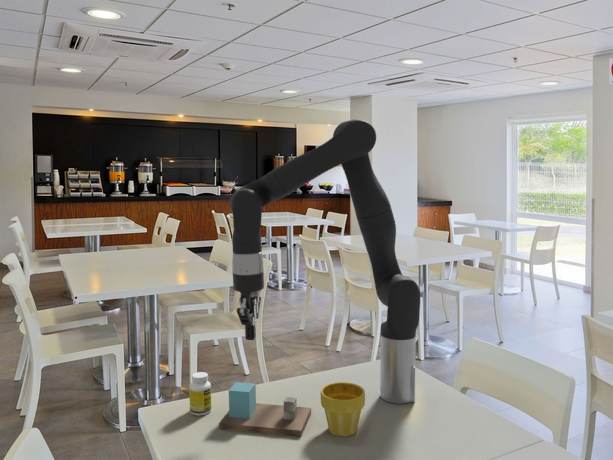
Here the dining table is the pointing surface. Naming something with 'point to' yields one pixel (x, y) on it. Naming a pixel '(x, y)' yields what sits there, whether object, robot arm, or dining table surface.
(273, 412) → the post board
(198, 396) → the supplement bottle
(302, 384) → the dining table surface
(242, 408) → the teal rectangular block
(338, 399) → the plant pot
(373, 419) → the dining table surface
